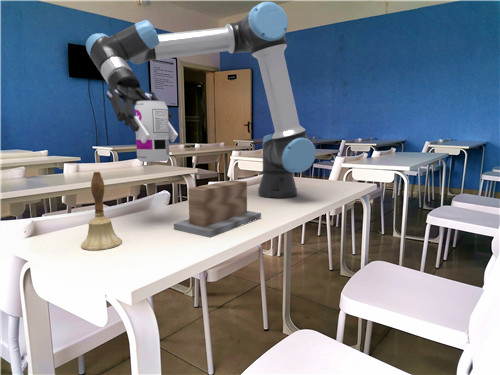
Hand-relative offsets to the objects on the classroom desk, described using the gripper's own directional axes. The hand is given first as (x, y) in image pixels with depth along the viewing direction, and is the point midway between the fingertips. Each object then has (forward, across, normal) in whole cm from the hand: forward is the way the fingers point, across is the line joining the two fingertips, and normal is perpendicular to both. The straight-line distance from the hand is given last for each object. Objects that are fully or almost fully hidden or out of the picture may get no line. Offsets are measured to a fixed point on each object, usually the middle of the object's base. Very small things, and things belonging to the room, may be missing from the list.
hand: (160, 138), depth 88 cm
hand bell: (+17, +18, -15) cm, 29 cm away
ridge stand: (+23, -10, -9) cm, 27 cm away
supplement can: (+2, 0, -6) cm, 7 cm away
